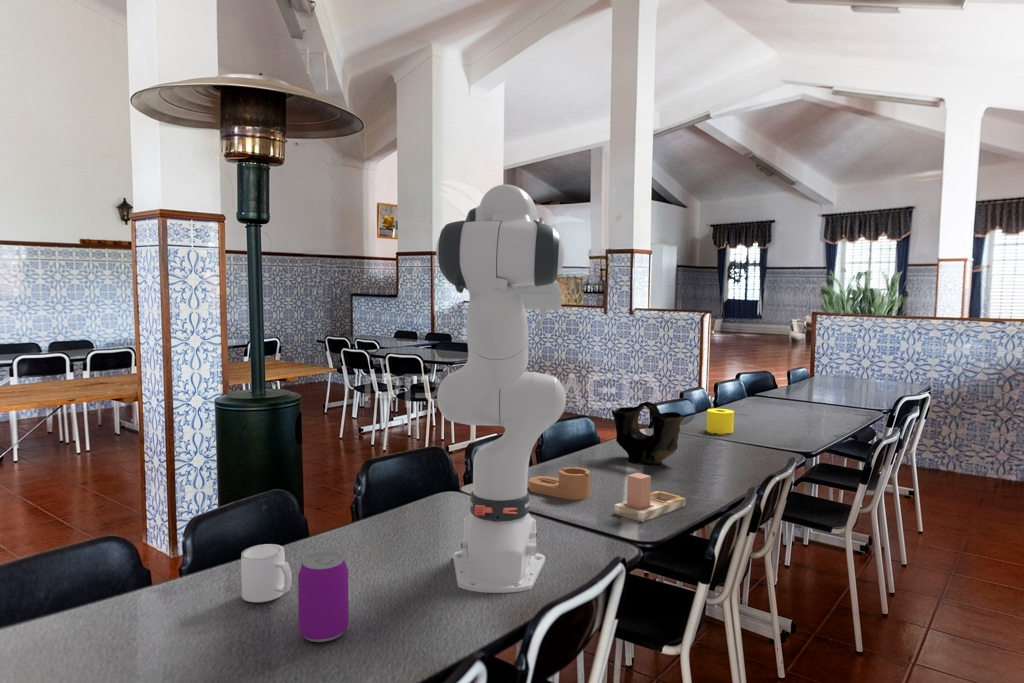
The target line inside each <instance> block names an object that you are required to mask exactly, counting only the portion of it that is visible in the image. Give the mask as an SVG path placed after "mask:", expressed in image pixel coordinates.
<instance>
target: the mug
mask: <svg viewBox="0 0 1024 683" xmlns="http://www.w3.org/2000/svg"><path fill="white" fill-rule="evenodd" d="M285 552H286V551H285V547H283V546H282V545H280V544H275V543H264V544H257V545H253V546H250V547H248V548H245V549H244V550H242V551H241V553H240V554H241V556H240V558H241V559H240V561H241V564H240V566H241V568H240V569H241V570H240V572H241V598H242V599H243V600H244V601H246V602H249V603H250V602H251V603H264V602H270V601H273V600H276V599H277V598H280V597H282V595H284V594H285V593H287V592H289V591H290V590H291V586H292V584H293V583H292V582H293V577H292V576H293V575H292V569H291V567H290V564H289V562H287V561H286V560H285Z"/></svg>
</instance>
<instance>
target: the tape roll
mask: <svg viewBox="0 0 1024 683" xmlns="http://www.w3.org/2000/svg"><path fill="white" fill-rule="evenodd" d="M734 420H735V411H734V410H732V409H726V408H708V409H707V410H706V432H707V431H708V432H707V433H709V432H710V433H709V434H714V433H717V434H716V435H726V434H725V433H732V432H733V433H734V423H735V422H734ZM733 433H732V434H733Z"/></svg>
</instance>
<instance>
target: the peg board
mask: <svg viewBox="0 0 1024 683" xmlns="http://www.w3.org/2000/svg"><path fill="white" fill-rule="evenodd" d="M685 506H686V498H685V497H682V496H680V495H678V494H677V495H676V494H673V493H669V492H666V491H659V490H657V491H656V490H654V491H651V494H650V508H647V509H644V510H642V511H640V510H637V509H634V508H630V507H627V500H625V501H622V502H619V503H618V502H617V503H615V504H614V510H613V511H614V515H617V516H621V517H624V518H628V519H630V520H635V521H638V522H640V521H641V523H644V522H646V520H647V521H650V520H652V519H654V518H658V517H659V516H663V515H665V514H668V513H671V512H673V511H675V510H678V509H681V508H684V507H685ZM649 519H650V520H649Z"/></svg>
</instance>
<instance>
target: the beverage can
mask: <svg viewBox="0 0 1024 683" xmlns="http://www.w3.org/2000/svg"><path fill="white" fill-rule="evenodd" d="M297 586H298V587H297V598H298V599H297V600H298V601H297V603H298V606H297V607H298V610H297V612H298V614H297V616H298V619H297V621H298V631H299V634H300V635H301V636H302V637H303V638H305V639H306V640H307V641H310V642H313V643H314V642H315V643H325V642H328V641H329V642H330V641H333V640H336V639H337V638H339V637H341V636H342V634H344V633H345V631H346V630H347V629H348V626H349V620H350V619H349V618H350V617H349V614H350V613H349V606H350V604H349V568H348V566H347V564H346V560H345V558H344V556H343V554H342V553H340V552H336V551H328V550H327V551H319V552H315V553H314V552H313V553H311V554H308V555H306V556H305V557H303V561H302V563H301V566H300V569H299V572H298V574H297Z"/></svg>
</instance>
